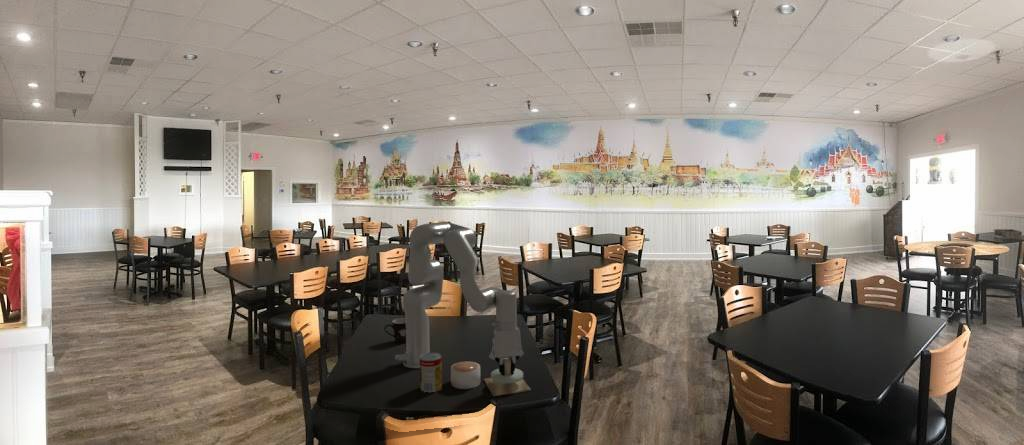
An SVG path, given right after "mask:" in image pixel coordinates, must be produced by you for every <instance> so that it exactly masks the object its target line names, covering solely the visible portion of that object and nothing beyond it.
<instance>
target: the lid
mask: <svg viewBox="0 0 1024 445" xmlns="http://www.w3.org/2000/svg"><path fill="white" fill-rule="evenodd" d="M503 364H504V375H503V376H502V374H501V373H500V372H499V368H496V369H493V371H491V372H490V378H491V379H492V380H493V381H495V382H499V383H514V382H518V381H520V380H522V379H523V380H524V372H523V371H522V370H521V369H519V368H516V367H515V371H514V374H511V357H503Z"/></svg>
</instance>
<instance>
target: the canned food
mask: <svg viewBox="0 0 1024 445" xmlns="http://www.w3.org/2000/svg"><path fill="white" fill-rule="evenodd" d="M442 364H443V362H442V354H441V353H439V352H430V353H425V354H422V355H421V356H420V368H419V386H420V387H419V390H420V389H421V390H422V391H424V392H423V393H425V392H429V393H428V394H432V393H431V392H434V393H437V391H438V392H439V391H441V390H442V389H443V369H442V368H443V367H442V366H443V365H442ZM421 390H420V391H421ZM422 391H421V392H422Z"/></svg>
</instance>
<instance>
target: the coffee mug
mask: <svg viewBox="0 0 1024 445" xmlns="http://www.w3.org/2000/svg"><path fill="white" fill-rule="evenodd" d="M391 322H392V324H387V325H385V326H384V329H383V330H384V331H385V333H386V334H387V335H389V336H392V337H393V338H394V342H395V344H397V343H399V345H403V343H404V344H406V319H405V318H404V317H402V318H400V317H399V318H395V319H393V320H392V321H391ZM387 327H391V328H392V329H393V334H392V333H390V332H388V331H387V330H386V329H387Z"/></svg>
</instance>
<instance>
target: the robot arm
mask: <svg viewBox="0 0 1024 445" xmlns="http://www.w3.org/2000/svg"><path fill="white" fill-rule="evenodd" d="M439 244H443V245H444V247H445V248H446V250H447V251H448V254H449V255H450V257H451V258H452V260H453V262H454V264H455V265H456V268H457V269H458V270H459V283H460V284H459V286H460V290H461V293H462V295H463V296H464V298H465V300H466V302H467V304H468V305H469V307H470V308H471V309H472V310H473V311H475V312H476V313H484V312H486V311H489V310H492V309H495V318H496V319H495V321H494V322H492V327H494V330H493V336H492V349H491V352H490V354H489V355H488V357H489V359H491V360H493V361H495V362H496V363H498V369H499V372H500V373H501V374H502V376H503V375H504V364H503V359H504V358H510V359H511V374H514V371H515V368H516V363H517V361H518V360H519V359H520V358H521V357H523V356H524V355H525V352H524V350H523V348H522V340H521V339H522V336H521V330H520V327H518V324H517V322H518V321H517V320H518V319H517V316H518V315H517V314H518V312H517V309H518V308H517V307H518V306H517V293H516V292H515V291H513V290H510V289H505V290H504V289H501V288H498V287H493V286H491V287H487V288H485V289H480V287H479V286H478V284H477V282H476V278H475V272H476V270H477V267H478V266H479V265H480V259H479V257H478V255H477V254H476V252H475V251H474V249H473V248H474V246H476V245H477V235H476V234H475V232H474V231H473V230H472V229H471V228H468V227H465V226H462V225H459V224H455V223H452V222H450V221H448V222H447V221H439V222H431V223H430V222H429V223H424V224H419V225H417V226H416V227H413V229H412V230H411V232H410V235H409V259H408V260H409V261H408V274H407V275H408V277H407V278H408V282H409V283H410V284H411V285H412V286H416V287H413V288H410V289H409V290H407V291H405V293H404V294H403V296H402V305H403V310H404V315H405V319H406V343H405V344H406V346H405V348H406V350H405V352H404V353H402V354H395V356H394V360H395V361H398V362H402V365H403V367H405V368H408V369H420V356H421V355H422V354H425V353H431V349H430V348H431V347H430V346H431V345H430V342H431V341H430V337H431V336H430V319H429V316H428V313H427V312H426V310H427V309H429V308H431V307H432V308H433V307H435V306H436V305H439V303H440V301H441V299H442V295H443V287H444V285H443V284H444V269H443V266H442V263H441V262H440V261H439V260H437V259H431V258H432V251H431V250H432V249H431V248H430V245H439Z"/></svg>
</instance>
